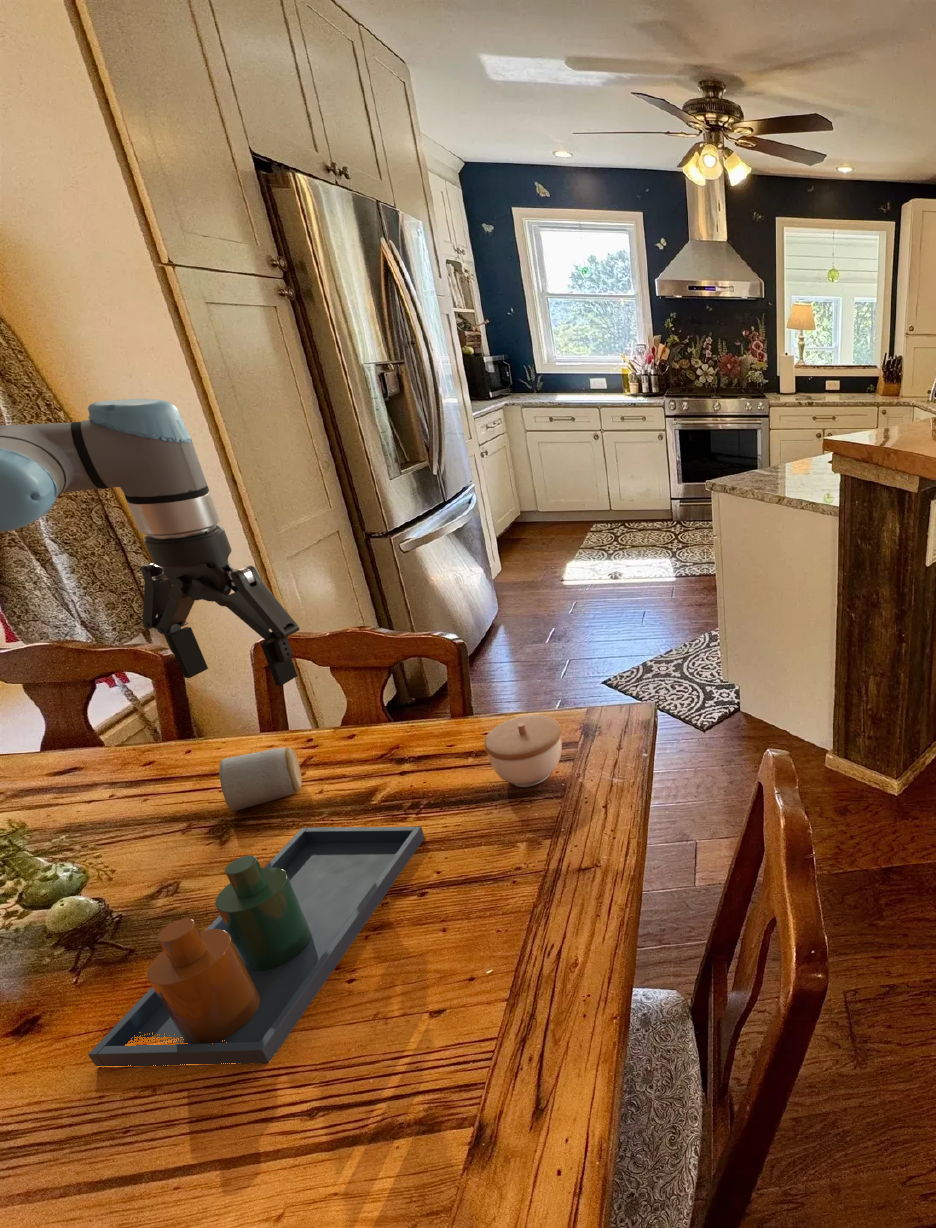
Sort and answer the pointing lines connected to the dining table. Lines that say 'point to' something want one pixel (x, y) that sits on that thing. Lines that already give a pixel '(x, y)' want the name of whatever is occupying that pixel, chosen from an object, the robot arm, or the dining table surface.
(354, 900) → the tray
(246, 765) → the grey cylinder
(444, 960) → the dining table surface
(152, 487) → the robot arm
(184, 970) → the amber bottle
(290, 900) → the green bottle
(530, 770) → the trinket box
